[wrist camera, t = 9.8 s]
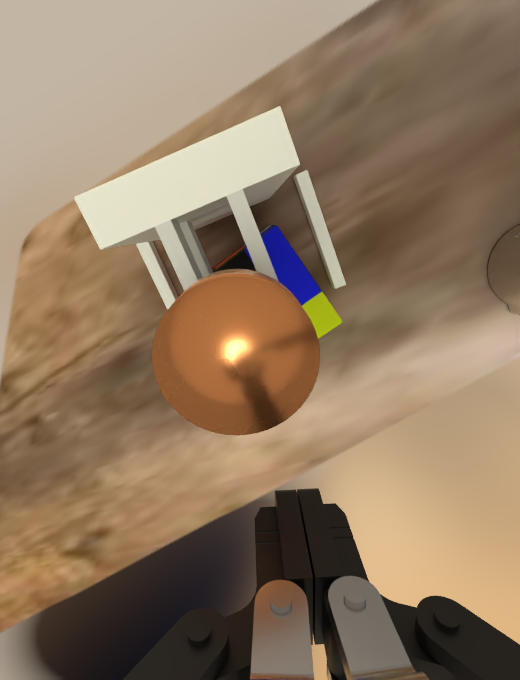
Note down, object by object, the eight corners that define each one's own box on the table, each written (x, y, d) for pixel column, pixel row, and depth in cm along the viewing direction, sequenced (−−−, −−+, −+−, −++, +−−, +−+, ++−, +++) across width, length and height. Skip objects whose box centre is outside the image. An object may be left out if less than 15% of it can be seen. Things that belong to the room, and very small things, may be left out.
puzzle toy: (269, 225, 42) (276, 225, 32) (321, 300, 44) (342, 321, 34) (195, 281, 43) (180, 297, 33) (249, 351, 45) (250, 385, 36)
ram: (288, 303, 28) (342, 401, 12) (223, 329, 28) (195, 456, 13) (262, 234, 26) (284, 249, 11) (193, 263, 27) (122, 316, 11)
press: (341, 281, 43) (449, 346, 20) (188, 343, 45) (128, 468, 22) (299, 157, 40) (372, 65, 17) (134, 228, 41) (-8, 233, 18)
